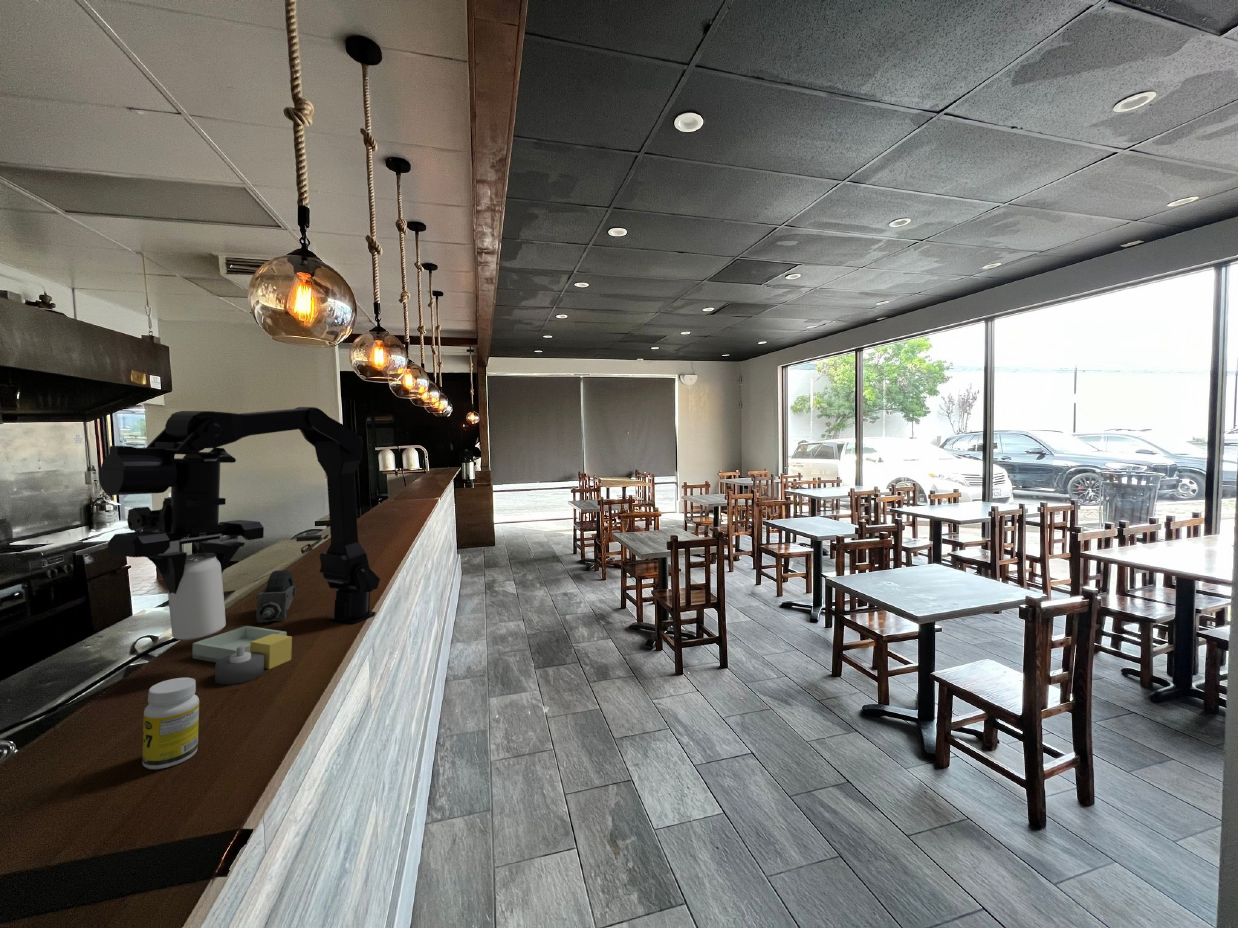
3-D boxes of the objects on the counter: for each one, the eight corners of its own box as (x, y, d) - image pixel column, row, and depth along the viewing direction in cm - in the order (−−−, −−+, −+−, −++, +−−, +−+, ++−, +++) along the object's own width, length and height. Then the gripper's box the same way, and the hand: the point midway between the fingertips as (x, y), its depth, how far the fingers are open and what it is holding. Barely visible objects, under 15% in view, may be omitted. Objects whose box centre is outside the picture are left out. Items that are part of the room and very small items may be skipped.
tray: (245, 639, 91) (246, 625, 91) (286, 645, 89) (286, 631, 89) (192, 658, 82) (192, 643, 82) (235, 665, 80) (236, 650, 80)
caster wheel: (269, 612, 109) (246, 628, 95) (272, 568, 110) (249, 577, 96) (299, 610, 111) (280, 626, 97) (301, 567, 112) (283, 576, 98)
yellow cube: (272, 656, 84) (273, 633, 84) (291, 659, 83) (292, 636, 83) (249, 666, 81) (250, 641, 81) (269, 669, 80) (270, 644, 80)
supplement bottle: (141, 755, 56) (143, 683, 56) (195, 740, 60) (198, 671, 60) (142, 776, 53) (144, 698, 53) (199, 759, 56) (201, 685, 56)
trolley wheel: (243, 665, 80) (244, 638, 80) (272, 670, 79) (273, 643, 79) (204, 680, 75) (205, 652, 75) (235, 686, 73) (236, 657, 73)
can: (196, 642, 74) (188, 564, 73) (160, 639, 75) (153, 562, 74) (236, 624, 80) (230, 552, 79) (203, 622, 81) (197, 551, 80)
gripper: (217, 486, 87) (214, 573, 88) (80, 492, 69) (77, 602, 70) (267, 489, 85) (264, 579, 85) (139, 496, 67) (135, 611, 67)
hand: (192, 591), depth 77 cm, fingers closed on can, 5 cm apart
